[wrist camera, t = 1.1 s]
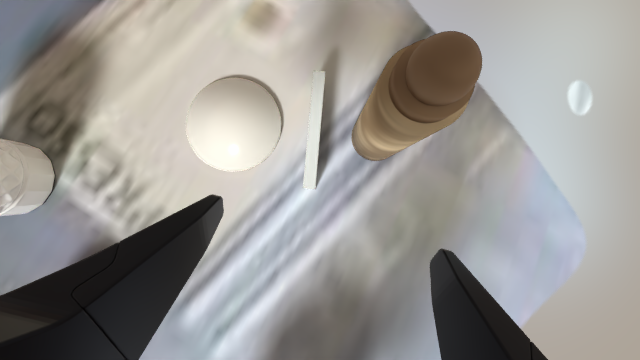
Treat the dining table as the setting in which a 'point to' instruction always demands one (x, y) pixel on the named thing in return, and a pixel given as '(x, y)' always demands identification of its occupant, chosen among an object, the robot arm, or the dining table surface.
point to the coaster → (233, 124)
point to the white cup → (23, 177)
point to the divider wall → (314, 130)
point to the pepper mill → (418, 94)
